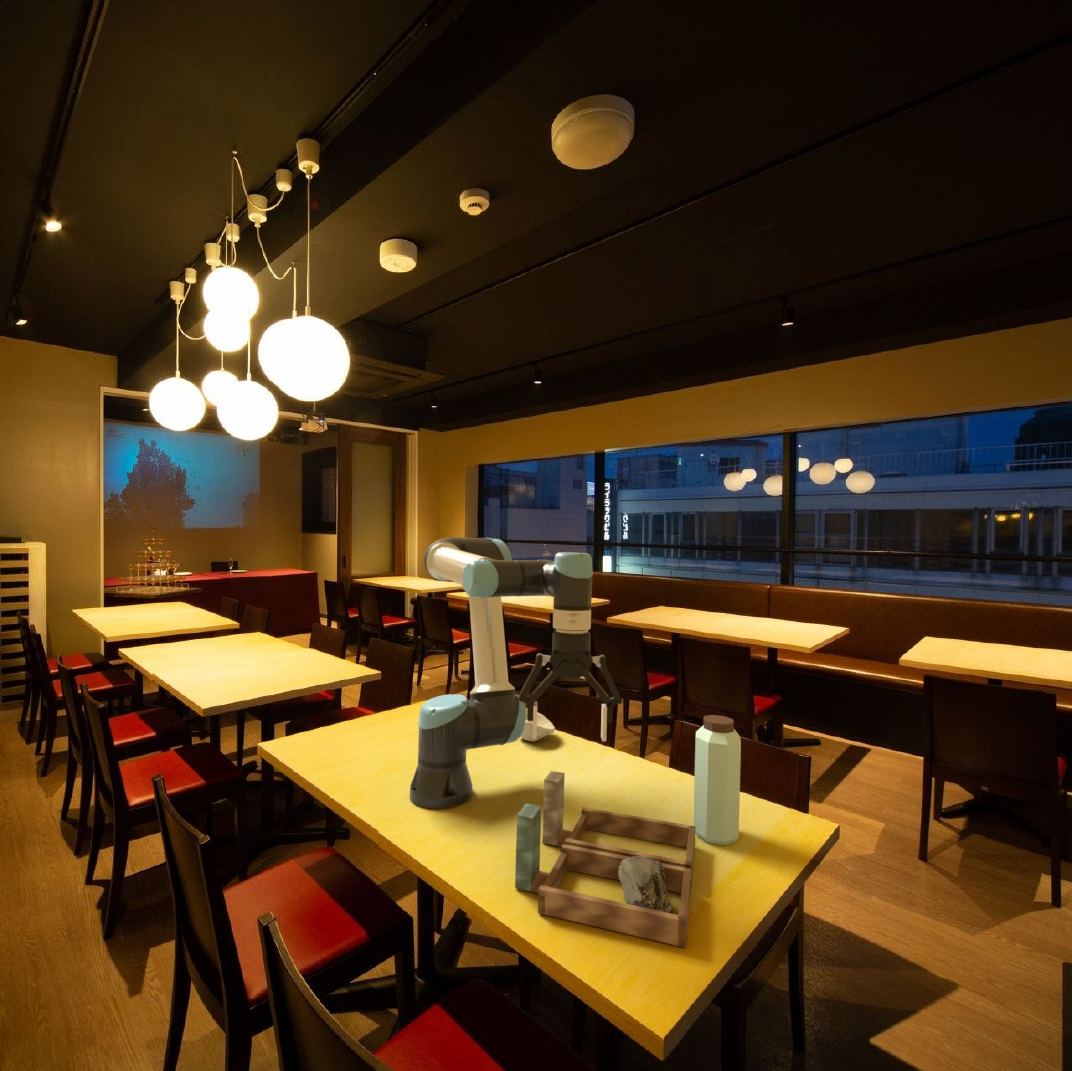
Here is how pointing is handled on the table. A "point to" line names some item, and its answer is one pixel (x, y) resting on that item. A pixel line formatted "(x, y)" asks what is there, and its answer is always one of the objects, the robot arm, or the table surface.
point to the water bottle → (717, 781)
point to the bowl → (542, 728)
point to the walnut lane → (591, 907)
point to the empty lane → (610, 827)
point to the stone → (644, 883)
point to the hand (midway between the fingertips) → (569, 738)
